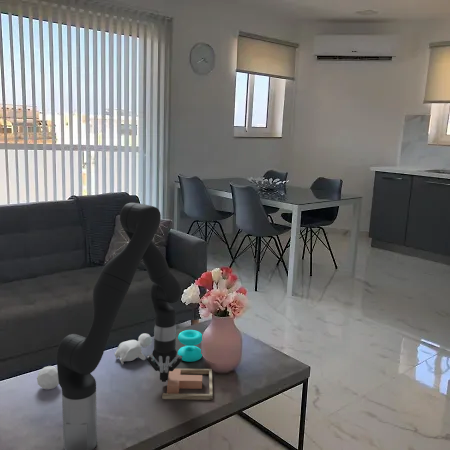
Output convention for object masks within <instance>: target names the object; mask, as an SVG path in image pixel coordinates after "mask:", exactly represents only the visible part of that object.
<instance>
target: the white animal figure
mask: <svg viewBox="0 0 450 450" xmlns="http://www.w3.org/2000/svg"><path fill="white" fill-rule="evenodd" d="M152 342H153V339H152V336H151V335H150V334H149V333H141V334H140V335H139V336H138V339H137V340H136V339H129V340H126V341H122V342H120V343H119V345H118V346H117V349H116V350H115V352H114V356H115V358H116V360H119V361H120V363H121V365H124V362H131V361H134V360H136V359H137V358H139V359H141V360H142V361H145V360H146V361H147V357H146V356H145V355H144V354H143V353H142V350H143V349H142V348H144V349H146V348H147V347H149V346H150V345H152Z"/></svg>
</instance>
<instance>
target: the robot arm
mask: <svg viewBox="0 0 450 450" xmlns="http://www.w3.org/2000/svg"><path fill="white" fill-rule="evenodd" d="M161 214H162V213H161V212H160V209H159V208H158V207H156V206H154V205H153V206H152V205H149V204H143V203H138V202H129V203H126V204H124V206H123V207H122V209H121V211H120V212H119V221H120V225H121V227H122V229H123V231H124V233H125V234H126V236H127V237H128V238H129V242H128V243H127V245H126V246H125V247H124V248H123V249H122V250H121V251H120V252H118V253H117V254H116V255H115V256H113V258H111V259H110V260H108V262H107V263H106V264H105V265H104V266H103V268H102V269H101V271H100V273H99V275H98V278H97V279H96V282H95V284H94V287H93V290H92V307H93V317H92V323H91V326H90V328H89V330H88V333H87V335H86V337H85V336H82V335H80V334H76V333H70V334H68V335H66V336H65V337H64V338H62V339H61V340H60V342H59V345H58V347H57V351H56V368H57V370H58V381H59V384H58V385H59V387H60V388H61V400H62V402H61V403H62V437H63V438H62V439H63V440H62V441H63V450H94V449H95V447H96V446H97V444H98V432H97V431H98V428H97V426H98V425H97V424H98V423H97V420H98V419H97V381H96V378H95V377H94V376H93V375H92V373H93V372H94V371H95V370H96V369H97V367H98V366H99V364H100V362H101V361H102V358H103V356H104V352H105V350H106V347H107V343H108V341H109V337H110V334H111V332H112V329H113V326H114V324H115V321H116V318H117V317H118V313H119V311H120V309H121V306H122V304H123V302H124V301H125V298H126V295H127V294H128V291H129V290H130V287H131V285H132V282H133V279H134V276H135V274H136V272H137V270H138V268H139V265H140V264H141V262H142V263H143V265H144V267H145V270H146V272H147V274H148V275H147V276H148V278H149V279H150V281H151V283H152V284H151V286H150V291H149V292H150V293H149V294H150V297H151V298H150V299H151V303H152V307H153V310H154V312H155V313H154V329H153V332H154V333H153V350H152V353H150V354H147V357H146V361H147V362H148V364H149V365H150V366H151V367H152V368H153V370H154V371H155V372H159V381H161V382H162V383H166V381H168V378H169V373H168V372H169V371H173V370H174V369H175V368H177V367H178V366H179V365H180V364H181V362H182V361H183V360H182V356H181V355H180V356H179V355H178V350H176V346H177V345H176V340H177V327H176V318H177V317H176V309H175V308H174V307H173V306H172V305H170V304H175V303H177V302H178V301H179V300H180V299H181V296H182V287H181V285H180V283H179V281H178V280H177V278H176V277H175V276H174V274H173V272H171V270H170V268H169V265H168V263H167V259H166V257H165V255H164V254H163V252H162V251H161V250H160V248H158V246H157V245H156V244H155V242H153V239H154V238H155V235H156V233H157V231H158V229H159V227H160V224H161V217H162V215H161ZM173 360H174V361H173ZM157 362H158V363H157ZM170 363H171V365H170Z"/></svg>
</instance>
